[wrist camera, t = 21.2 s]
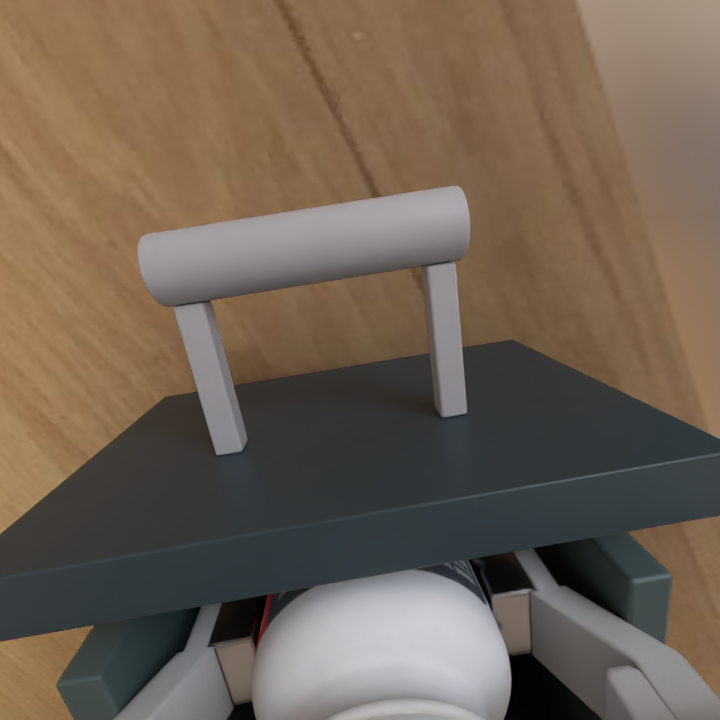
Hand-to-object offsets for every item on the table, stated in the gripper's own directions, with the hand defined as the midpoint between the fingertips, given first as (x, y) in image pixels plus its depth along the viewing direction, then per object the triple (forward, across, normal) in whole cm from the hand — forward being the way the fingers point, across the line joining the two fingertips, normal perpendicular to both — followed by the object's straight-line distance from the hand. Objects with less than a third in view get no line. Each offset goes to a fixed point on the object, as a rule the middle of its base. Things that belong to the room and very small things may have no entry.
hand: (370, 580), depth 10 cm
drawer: (+5, 0, 0) cm, 5 cm away
